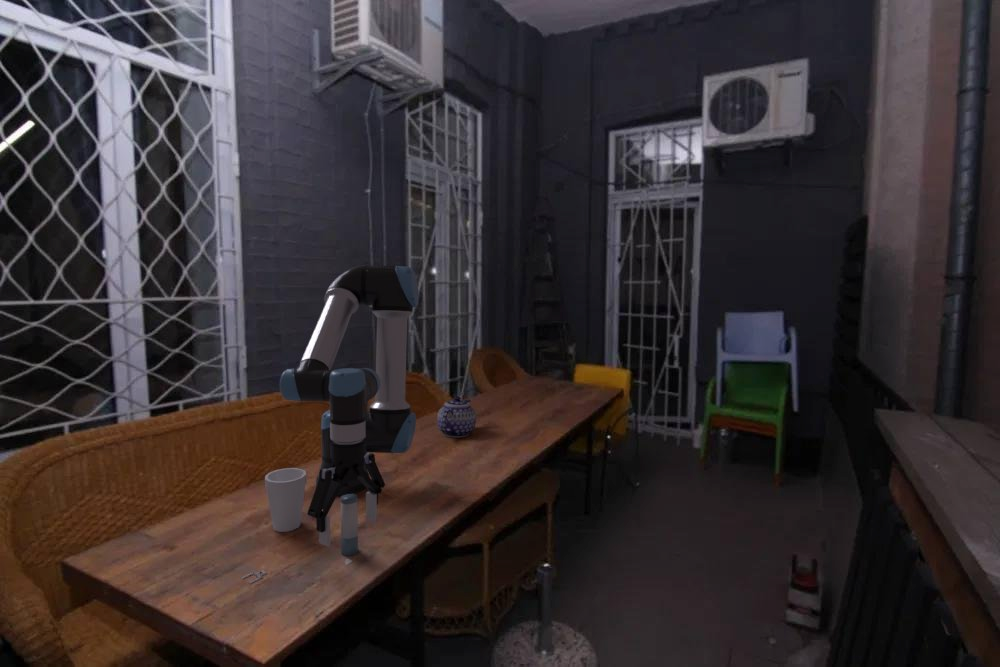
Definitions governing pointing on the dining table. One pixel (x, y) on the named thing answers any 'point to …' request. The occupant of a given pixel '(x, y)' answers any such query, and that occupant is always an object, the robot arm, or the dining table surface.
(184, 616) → the dining table surface
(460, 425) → the blue ceramic jar
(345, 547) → the cylinder
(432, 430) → the dining table surface
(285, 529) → the foam cup
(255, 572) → the small grey pieces
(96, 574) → the dining table surface
